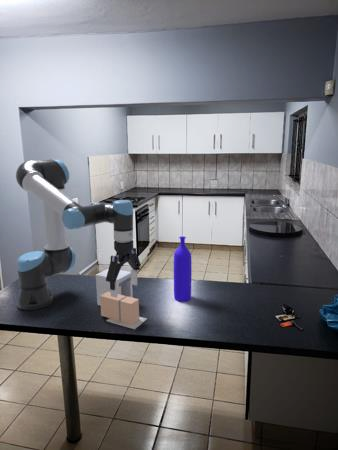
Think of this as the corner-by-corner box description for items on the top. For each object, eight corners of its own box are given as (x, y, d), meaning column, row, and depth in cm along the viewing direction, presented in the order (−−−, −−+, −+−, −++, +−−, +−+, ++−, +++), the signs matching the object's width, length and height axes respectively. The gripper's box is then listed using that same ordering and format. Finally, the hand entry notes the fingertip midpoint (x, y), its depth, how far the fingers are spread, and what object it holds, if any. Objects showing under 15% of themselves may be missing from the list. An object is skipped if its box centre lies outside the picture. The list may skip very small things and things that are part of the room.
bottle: (176, 303, 155) (176, 240, 148) (171, 296, 163) (171, 235, 156) (193, 301, 157) (194, 238, 150) (188, 293, 165) (188, 234, 158)
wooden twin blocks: (101, 315, 143) (99, 295, 141) (108, 310, 147) (107, 291, 145) (132, 324, 135) (131, 303, 133) (139, 319, 140) (138, 298, 138)
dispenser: (97, 304, 154) (95, 274, 151) (111, 296, 162) (109, 267, 159) (120, 311, 148) (119, 279, 145) (133, 302, 156) (132, 272, 153)
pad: (106, 321, 139) (106, 320, 139) (119, 312, 147) (119, 311, 147) (134, 329, 133) (134, 328, 132) (146, 319, 140) (146, 318, 140)
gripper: (111, 249, 120) (112, 304, 125) (148, 234, 141) (148, 281, 146) (94, 246, 123) (97, 300, 128) (133, 231, 145) (134, 278, 150)
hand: (124, 290), depth 137 cm, fingers open, 13 cm apart
